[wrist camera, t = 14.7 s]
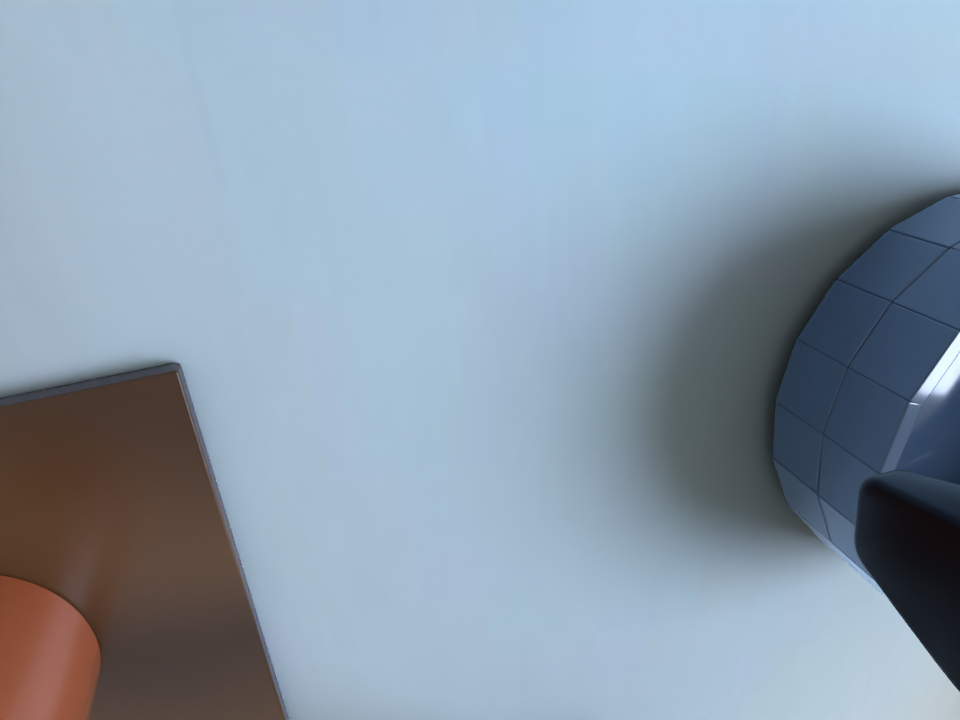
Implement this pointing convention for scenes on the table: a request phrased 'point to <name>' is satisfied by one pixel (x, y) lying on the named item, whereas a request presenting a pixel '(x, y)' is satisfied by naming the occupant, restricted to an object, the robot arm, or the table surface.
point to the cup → (44, 655)
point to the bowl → (875, 378)
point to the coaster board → (135, 545)
